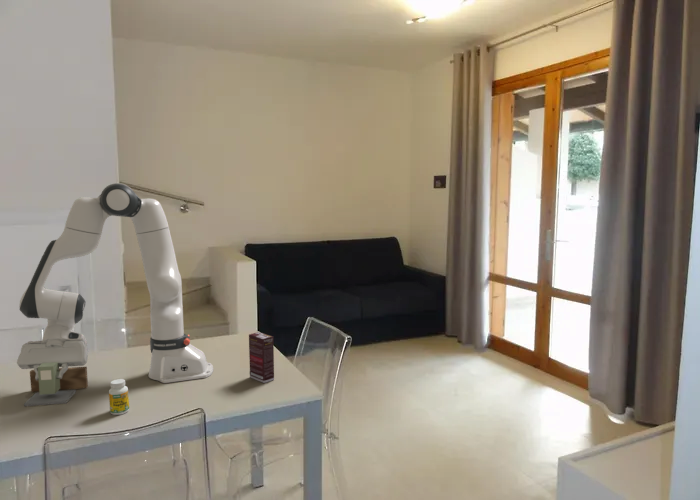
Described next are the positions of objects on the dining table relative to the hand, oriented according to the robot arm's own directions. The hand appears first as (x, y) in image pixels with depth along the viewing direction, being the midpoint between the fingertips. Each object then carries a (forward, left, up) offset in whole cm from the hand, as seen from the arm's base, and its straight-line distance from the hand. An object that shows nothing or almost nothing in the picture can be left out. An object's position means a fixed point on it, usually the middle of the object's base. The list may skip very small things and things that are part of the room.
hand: (48, 378), depth 164 cm
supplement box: (-67, -6, -7) cm, 68 cm away
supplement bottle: (-24, +13, -7) cm, 28 cm away
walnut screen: (0, -9, -7) cm, 11 cm away
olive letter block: (0, -1, -4) cm, 4 cm away
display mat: (0, -1, -7) cm, 7 cm away
